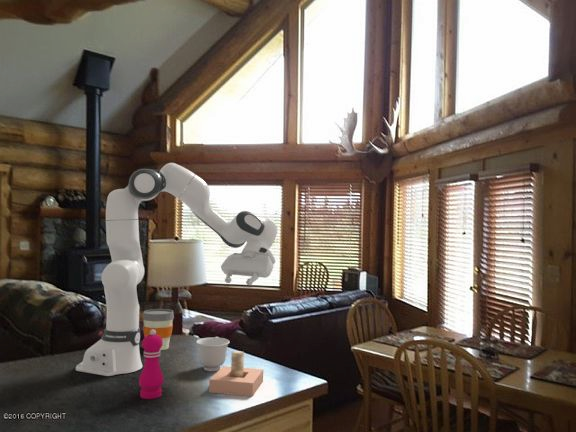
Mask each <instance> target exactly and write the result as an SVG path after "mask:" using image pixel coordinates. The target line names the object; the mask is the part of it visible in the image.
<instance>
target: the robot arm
mask: <svg viewBox="0 0 576 432" xmlns="http://www.w3.org/2000/svg"><path fill="white" fill-rule="evenodd" d="M161 192H166V193H169V194H170V195H172V196H174V197H175V198H176V199H178V200H180V201H181V202H182V203H184V204H185V205H186V206H187V207H188V208H189V209H190V211H191V212H192V213H193V214H194V216H196V217H197V218H198V219H199V220H200V221H201V222H202V223H204V224H205V225H206V226H207V227H209V228H210V229H211V230H212V232H214V233H216V234H217V235H218V236H219V238H220V239H221V240H222V241H223V243H224V244H225V245H227V246H228V247H231V248H232V249H233V248H234V249H237V248H241V247H242V246H244V247H243V248H242V250H241V252H240V253H238V252H233V253H231V254H229V255H228V256H227V257H226V259H224V261H222V262H223V263H222V264H221V265H220V268H221V269H220V270H221V271H222V272H223V274H224V275H226V276H225V278H224V282H225V283H226V284H230V283H231V282H232V278H231V277H232V276H233V275H234V276H243V277H249V278H247V280H246V282H245V284H246V285H247V286H252V285H253V283H254V282H256V281H257V280H258V279H259V278H264V279H266V278H268V277H269V276H271V273H272V272H273V269H274V264H275V263H276V259H275V256H274V254H273V253H272V251H271V250H270V249H271V247H272V246H273V244H274V242H275V240H276V238H277V234H278V226H277V224H276V223H275V221H274V220H272V219H270V218H268V217H264V218H263V217H259V216H257V215H256V214H254V213H252V212H251V211H247V210H243V211H240V212H239V213H237V214H236V216H234V217H233V219H231V221H227V220H226V219H225V218H223V217H222V216H221V215H220V214H219V213H217V212H216V211H215V210H214V209H213V208H212V205H211V204H210V193H211V192H210V187H209V185H208V183H206V181H205V180H204V179H203V178H201V177H200V176H199V175H197V174H196V173H194V172H193V171H191V170H189V169H188V168H186V167H184V166H182V165H179V164H177V163H175V162H169V163H168V162H167V163H166V164H165V165H164V166H163V167H161V169H160V170H159V169H151V168H140V169H137V170H135V171H134V172H133V173H132V174H131V175H130V177H129V180H128V185H127V186H126V187H125V188H118V189H114V190H112V191H111V192H109V194H108V196H107V200H106V206H105V232H106V233H105V234H106V244H107V247H108V249H109V254H110V257H111V262H110V263H109V264H107V265H106V267H105V268H104V269H103V271H102V272H101V282H102V285H103V289H104V295H105V297H104V298H105V303H106V320H105V321H106V322H105V323H106V324H105V325H106V326H105V328H104V329H102V330H100V331H98V332H99V333H98V336H101V338H100V339H99V340H98V341H96V342H95V343H94V344H93V345H91V346H90V347H88V348H87V349H86V351H85V352H84V353H83V359H82V362H79V364H77V365H76V366H75V371H77V372H82V373H87V374H93V375H99V376H104V377H111V376H115V375H116V376H117V375H121V374H124V375H125V374H130V373H133V372H137V371H139V370H141V369H142V368H143V363H142V360H141V353H140V340H141V328H140V304H139V299H138V292H137V291H138V290H137V286H138V284H140V283H141V282H142V280H143V279H144V276H145V266H144V260H143V254H142V249H141V248H142V247H141V244H140V231H139V230H140V228H139V227H140V226H139V206H140V204H142V203H145V202H147V201H152V200H153V199H154V198H156V197H157V196H158V195H159V193H161ZM244 244H245V245H244Z"/></svg>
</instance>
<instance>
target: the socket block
mask: <svg viewBox="0 0 576 432" xmlns="http://www.w3.org/2000/svg"><path fill="white" fill-rule="evenodd" d="M208 380H209V382H208V383H209V385H208V386H209V387H208V393H212V394H213V393H215V394H223V395H224V394H225V395H226V394H227V395H237V396H247V397H248V396H249V397H254V395H255V394H256V392H257V391H258V390H259V388H260V386H261V385H262V384H263V382H264V369H262V368H261V369H260V368H248V367H244V371H243V378H239V377H231V366H226V365H225V366H222V367H220V370H218V371H216V373H214V374H213V375H212V376H211V377H210V378H209V379H208Z"/></svg>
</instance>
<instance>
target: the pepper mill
mask: <svg viewBox="0 0 576 432" xmlns="http://www.w3.org/2000/svg"><path fill="white" fill-rule="evenodd" d="M162 345H163V341H162V338H161V337H160V336H159V335H156V331H155V330H154V329H152V330H151V331H150V335H147V336H146V337H143V340H142V343H141V347H142V349H144V350H143V357H144V365H143V366H144V367H142V368H143V369H142V371H141V373H140V375H139V380H138V385H139V387H140V388H141V389H140V392H139V396H140V398H141V399H144V400H153V399H158V398H161V396H162V395H163V392H162V388H161V387H162V385H164V375H163V371H162V369H161V366H160V356H161V355H162V354H161V352H162V350H160V348H161V347H162Z"/></svg>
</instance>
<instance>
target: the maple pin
mask: <svg viewBox="0 0 576 432" xmlns="http://www.w3.org/2000/svg"><path fill="white" fill-rule="evenodd" d="M230 359H231V360H230V361H231V362H230V363H231V364H230V365H231V366H230V367H231V377H239V378H243V371H244V368H245V366H244V364H245V363H244V362H245V352H244V351H243V350H242V351H241V350H233V351H232V352H231V357H230Z"/></svg>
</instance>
